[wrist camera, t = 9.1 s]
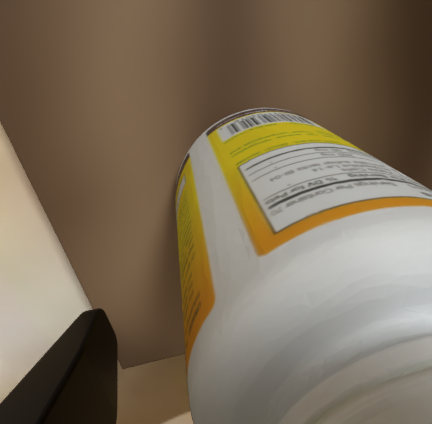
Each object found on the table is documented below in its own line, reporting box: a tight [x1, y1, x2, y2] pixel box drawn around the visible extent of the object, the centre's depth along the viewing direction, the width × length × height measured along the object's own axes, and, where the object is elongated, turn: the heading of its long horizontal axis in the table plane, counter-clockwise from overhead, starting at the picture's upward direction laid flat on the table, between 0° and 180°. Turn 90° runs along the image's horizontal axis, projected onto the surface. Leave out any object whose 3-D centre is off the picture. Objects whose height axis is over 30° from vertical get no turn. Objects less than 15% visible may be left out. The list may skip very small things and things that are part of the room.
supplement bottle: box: [175, 108, 432, 424], centre depth 8 cm, size 6×6×10 cm
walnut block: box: [0, 0, 432, 369], centre depth 13 cm, size 14×14×2 cm
